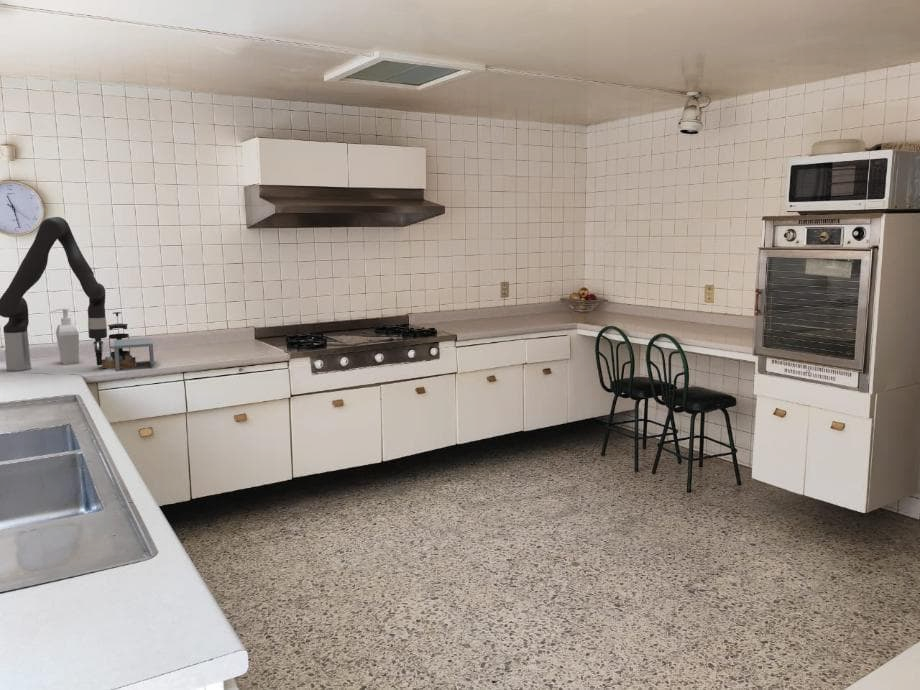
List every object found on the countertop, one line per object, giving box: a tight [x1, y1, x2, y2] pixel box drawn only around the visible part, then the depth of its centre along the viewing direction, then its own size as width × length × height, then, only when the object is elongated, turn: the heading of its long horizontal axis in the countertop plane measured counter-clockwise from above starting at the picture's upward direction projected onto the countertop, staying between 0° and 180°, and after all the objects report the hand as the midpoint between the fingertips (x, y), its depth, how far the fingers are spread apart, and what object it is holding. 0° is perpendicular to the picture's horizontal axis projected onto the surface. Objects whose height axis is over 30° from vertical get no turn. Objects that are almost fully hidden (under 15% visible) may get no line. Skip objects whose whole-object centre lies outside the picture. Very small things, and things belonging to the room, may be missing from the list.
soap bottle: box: [50, 308, 80, 365], centre depth 349 cm, size 12×10×26 cm
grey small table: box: [113, 337, 155, 371], centre depth 341 cm, size 16×20×11 cm
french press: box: [107, 311, 131, 359], centre depth 358 cm, size 12×9×23 cm
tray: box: [101, 354, 137, 369], centre depth 339 cm, size 14×6×5 cm, turn 114°
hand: (99, 365), depth 336 cm, fingers closed
